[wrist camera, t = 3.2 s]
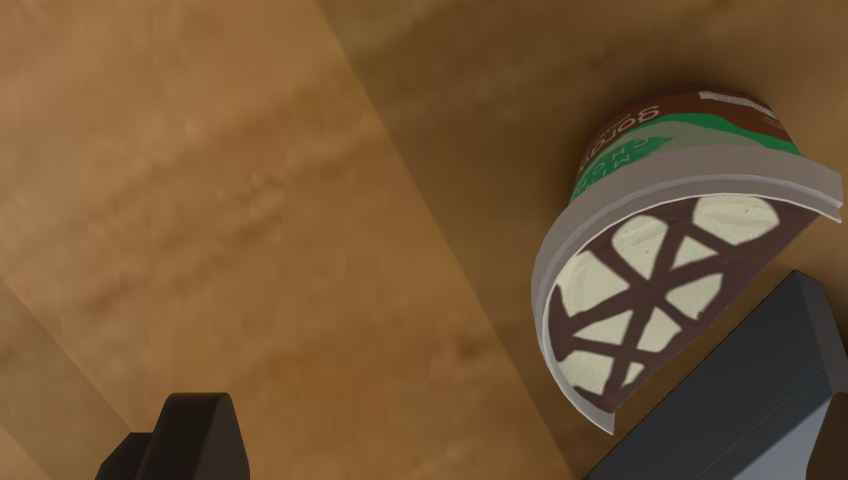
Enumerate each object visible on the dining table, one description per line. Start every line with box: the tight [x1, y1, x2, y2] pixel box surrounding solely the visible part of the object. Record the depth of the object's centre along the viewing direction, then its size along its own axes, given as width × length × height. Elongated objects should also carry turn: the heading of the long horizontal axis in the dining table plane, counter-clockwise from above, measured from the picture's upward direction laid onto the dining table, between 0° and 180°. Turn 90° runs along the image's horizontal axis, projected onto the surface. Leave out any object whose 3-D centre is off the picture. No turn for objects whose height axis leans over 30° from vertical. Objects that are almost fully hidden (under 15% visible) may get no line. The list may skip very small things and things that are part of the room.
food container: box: [531, 86, 844, 435], centre depth 30 cm, size 12×6×10 cm, turn 152°
